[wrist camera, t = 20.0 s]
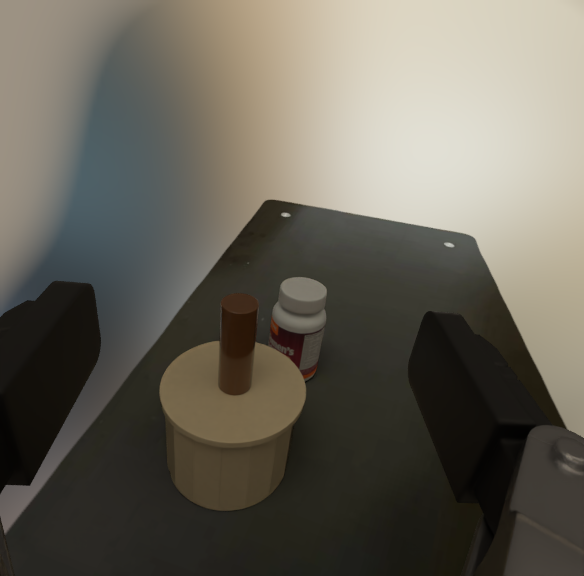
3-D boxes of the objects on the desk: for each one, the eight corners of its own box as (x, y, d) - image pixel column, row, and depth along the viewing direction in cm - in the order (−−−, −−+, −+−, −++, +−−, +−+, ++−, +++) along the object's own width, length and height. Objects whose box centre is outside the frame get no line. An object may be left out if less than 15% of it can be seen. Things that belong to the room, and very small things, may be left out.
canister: (194, 535, 33) (195, 464, 29) (152, 434, 41) (148, 366, 37) (309, 477, 39) (323, 411, 35) (253, 398, 46) (259, 336, 42)
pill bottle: (255, 365, 51) (263, 284, 46) (290, 345, 55) (301, 269, 50) (292, 393, 48) (305, 310, 42) (326, 370, 52) (342, 291, 46)
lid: (191, 479, 29) (191, 377, 24) (141, 370, 37) (134, 279, 32) (332, 419, 35) (353, 328, 30) (262, 337, 43) (270, 256, 38)
